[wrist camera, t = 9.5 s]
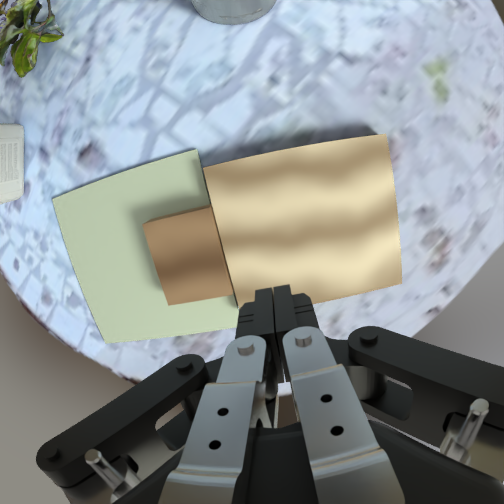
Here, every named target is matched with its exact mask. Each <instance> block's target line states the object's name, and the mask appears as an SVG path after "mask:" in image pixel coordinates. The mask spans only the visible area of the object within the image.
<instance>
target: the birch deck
mask: <svg viewBox="0 0 504 504" xmlns="http://www.w3.org/2000/svg"><path fill="white" fill-rule="evenodd" d="M203 171H204V175H205V179H206V183H207V187H208V191H209V195H210V199H211V203H212V207H213V211H214V215H215V219H216V223H217V227H218V231H219V235H220V239H221V242H222V246H223V250H224V254H225V258H226V261H227V265H228V269H229V273H230V277H231V280H232V284H233V288H234V291H235V295H236V299H237V302H238V306H239V309H240V308H241V307H242V306H243V305H244V303H247V302H254V301H255V290H258V289H264V288H270V287H272V289H273V287H275V286H281V285H287V284H290V288H291V294H292V295H294V294H300V293H305V294H306V295H308V296H309V297H310V298H311V301H312V304H316V303H321V302H326V301H330V300H335V299H340V298H344V297H348V296H353V295H357V294H361V293H366V292H370V291H374V290H378V289H382V288H386V287H390V286H394V285H398V284H402V268H401V248H400V234H399V222H398V212H397V203H396V194H395V186H394V179H393V172H392V166H391V159H390V153H389V148H388V142H387V137H386V134H380V135H372V136H364V137H356V138H349V139H342V140H336V141H329V142H323V143H317V144H311V145H306V146H300V147H295V148H289V149H284V150H279V151H274V152H269V153H264V154H259V155H255V156H250V157H246V158H241V159H237V160H233V161H228V162H224V163H220V164H216V165H212V166H208V167H204V168H203ZM273 294H274V292H273Z"/></svg>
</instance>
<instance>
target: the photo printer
mask: <svg viewBox="0 0 504 504" xmlns="http://www.w3.org/2000/svg"><path fill="white" fill-rule="evenodd" d="M23 192H24V127H23V126H21V125H20V124H7V123H0V204H3V203H7V202H10V201H14V200H17V199H19V198H20V197H21V196H22V195H23Z"/></svg>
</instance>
